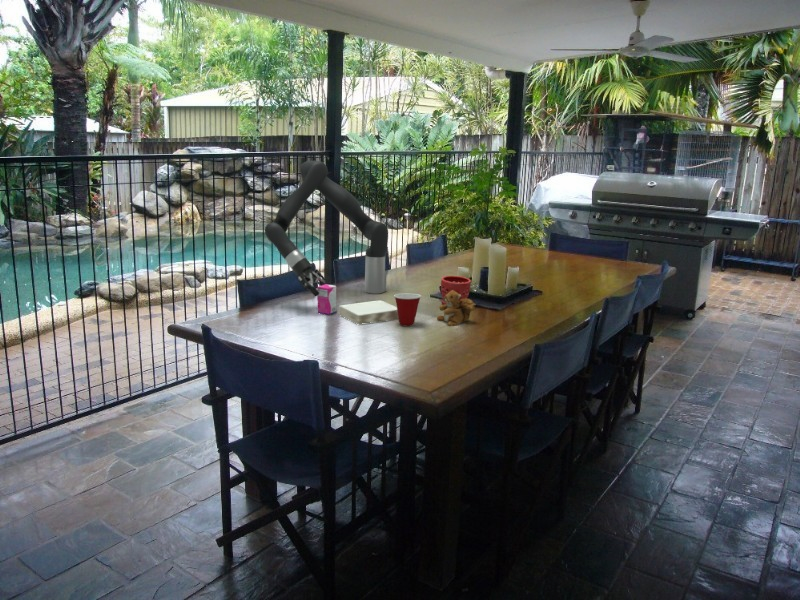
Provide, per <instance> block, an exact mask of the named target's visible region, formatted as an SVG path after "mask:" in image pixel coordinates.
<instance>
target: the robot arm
mask: <svg viewBox="0 0 800 600" xmlns="http://www.w3.org/2000/svg"><path fill="white" fill-rule="evenodd" d="M299 171H300V172H299V173H300V175H301V177H302V179H303V181H302V183H301V184H300V185H299V186H298V188H296V189H295V191H293V192H292V193H291V194H290V195H289V196H288V197H287V198H285V200H284V201H283V203H282V204H281V206H280V207H279V209H278V211H277V212H276V215H275V216H276V217H275V218H274V220H273V222H269V223H267V224H266V225H265V228H264V234H265V236H266V238H267V240H268V241H270V242H271V243H272V244H273V245H274V247H276V249H277V251H278V252H279V254H280V255H281V256H282V258H283V259H284V260H285V262H286V263H287V265H288V266H289V268H290V269H291V270H292V271H293V272H294V274H295V275H296V276H297V281H298V282H299V283H300V285H301V286H302V287H303V289H304V290H309V291H310V292H311V293H312V295H313V296H314V297H317V295H319V292H318V291H317V288H316V287H315V286H314V284H316V285H318V286H322V285H325V284H326V283H325V281H326V277H324V275H323V274H322V273H321V272H320V271H319V270H318V269H315V270H313V269H312V267H313V265H312V264H311V262H310V261H309V260H308V258H307V257H306V256H305V254H303V252H302V251H301V250H300V249H299V248H298V247H297V246H296V244H295V243H294V242H293V241H292V240H291V239H290V238H289V236H288V235H287V233H286V232H287V231H288V229H289V226H290V225H291V223H292V222H293V220H294V219H295V217H296V216H297V214H298V213H299V211H300V210H301V208H302V207H303V206H304V204H305V202H306V201H307V200H308V199H309V198H310V197H311V196H312V194H313V193H314V192H315V191H316V190H317V191H318V192H319V193H320V194H321V195H322V196H324V198H325V199H327V201H328V202H329V203H330V204H331V205H332V206H333V207H334V208H335V209H336V210H337V211H338V212H339V213H341V214H342V215H343V216H344V217H345V218H346V219H347V220H349V222H351V223H353V225H355V227H356V228H357V229H358V231H359V232H360V233H361V234H362V235H363V236H364V237H365V238H366V239H367V240H368V241H370V246H369V248H367V249H366V250H365V264H364V266H365V267H364V292H365V293H367V294H373V295H374V294H376V295H377V294H383V293H385V292H387V272H386V253H387V250H388V244H389V229H388V226H387V224H385V223H384V222H380V221H376V220H374V219H372V218H371V217H370V216H369V215H367V214H366V213H365V212H364V210H363V209H362V206H361V204H360V202H359V201H358V199H357V198H356V197H355V196H354V195H353V194H352V193H351V192H350V191H349V190H347V189H346V188H344V187H343V186H341V185H340V184H338V183H336V182H335V181H333V180H331V179H330V178H329V177H328V171H329V170H328V167H327V165H326V164H325V163H324V162H323V161H320V160H307V161H304V162H303V163H302V164H301V165H300V169H299Z"/></svg>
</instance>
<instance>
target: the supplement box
mask: <svg viewBox="0 0 800 600" xmlns="http://www.w3.org/2000/svg"><path fill="white" fill-rule="evenodd" d="M316 289H317V291H318V292H319V295H317V296H316V297H317V314H319V313H320V315H324V314H325V315H326V316H330V314H331V315H333V314H335V312H336V313H337V286H336V285H332V284H326V283H325V285H322V286H320V285H318V286H317V288H316Z"/></svg>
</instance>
